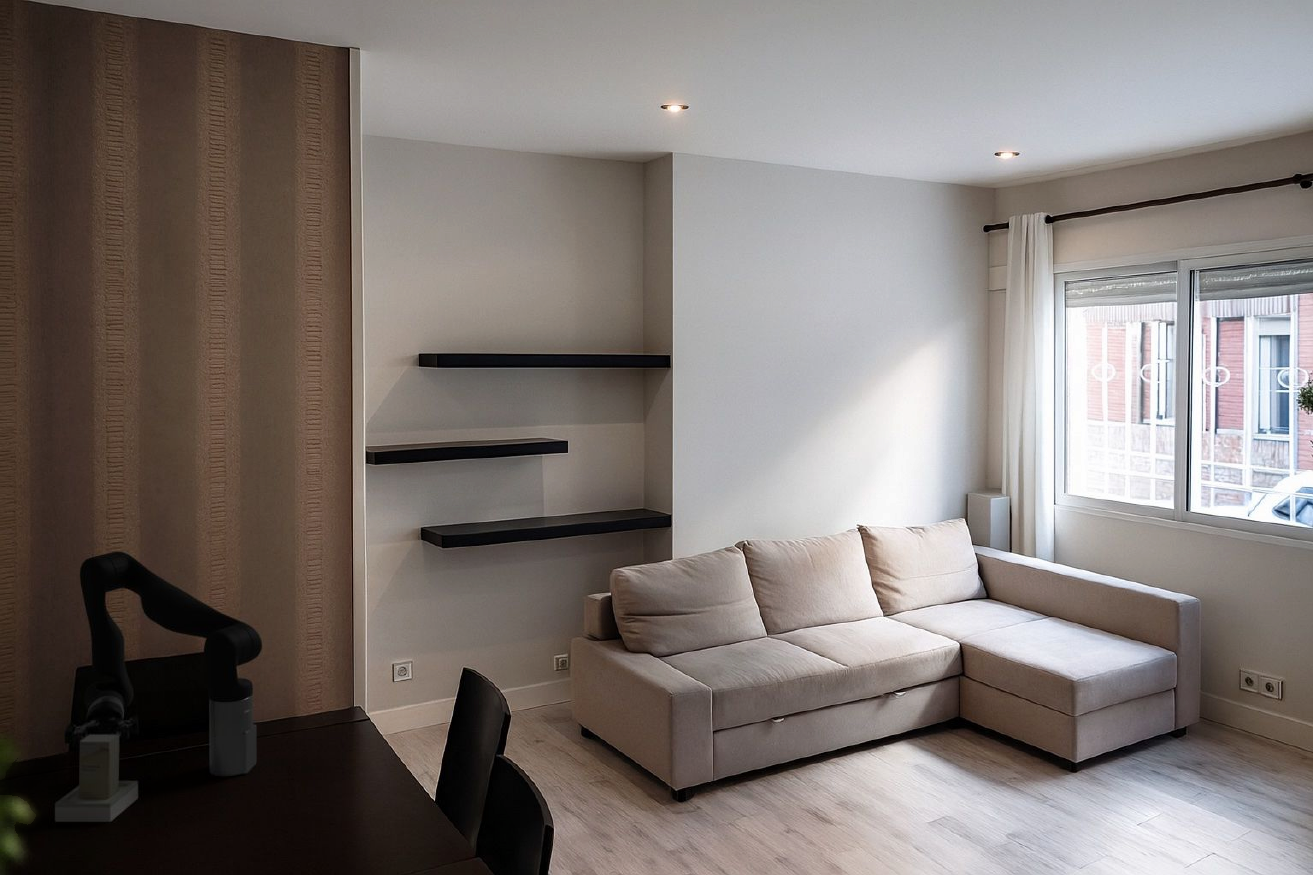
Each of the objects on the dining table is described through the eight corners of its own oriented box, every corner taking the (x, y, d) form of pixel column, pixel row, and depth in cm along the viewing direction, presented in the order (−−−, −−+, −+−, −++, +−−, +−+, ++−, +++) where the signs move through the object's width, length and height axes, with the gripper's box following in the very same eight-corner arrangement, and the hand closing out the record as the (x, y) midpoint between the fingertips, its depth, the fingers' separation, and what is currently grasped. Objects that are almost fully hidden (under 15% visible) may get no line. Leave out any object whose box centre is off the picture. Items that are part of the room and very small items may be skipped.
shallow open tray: (138, 797, 203) (137, 780, 203) (110, 821, 192) (110, 803, 192) (85, 797, 203) (85, 780, 202) (55, 821, 192) (54, 803, 192)
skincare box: (78, 799, 195) (77, 741, 195) (89, 790, 200) (89, 733, 199) (109, 799, 196) (108, 741, 195) (120, 789, 200) (119, 733, 199)
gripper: (69, 704, 217) (62, 728, 203) (139, 696, 224) (137, 719, 210) (69, 736, 218) (62, 762, 204) (140, 727, 224) (138, 752, 210)
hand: (100, 740), depth 207 cm, fingers open, 8 cm apart
